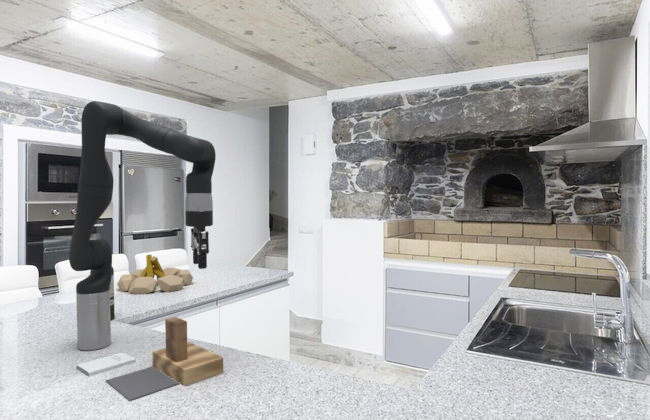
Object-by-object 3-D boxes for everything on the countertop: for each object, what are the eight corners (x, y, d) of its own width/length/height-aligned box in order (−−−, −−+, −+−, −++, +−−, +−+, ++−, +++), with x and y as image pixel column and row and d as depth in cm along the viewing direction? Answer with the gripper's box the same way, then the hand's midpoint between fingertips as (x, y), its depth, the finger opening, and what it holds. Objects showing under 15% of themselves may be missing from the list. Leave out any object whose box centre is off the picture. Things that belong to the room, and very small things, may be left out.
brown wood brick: (165, 356, 114) (165, 319, 114) (176, 353, 116) (175, 316, 116) (176, 362, 110) (176, 323, 110) (187, 359, 112) (186, 321, 112)
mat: (105, 381, 108) (105, 380, 108) (152, 367, 117) (152, 366, 117) (129, 401, 98) (129, 399, 97) (178, 384, 106) (178, 383, 106)
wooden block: (152, 366, 118) (152, 351, 117) (189, 355, 126) (189, 341, 125) (184, 386, 105) (184, 370, 105) (223, 372, 113) (223, 357, 113)
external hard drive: (76, 370, 116) (122, 356, 126) (88, 378, 111) (135, 363, 121) (76, 364, 116) (121, 351, 126) (88, 372, 111) (135, 358, 120)
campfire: (140, 280, 238) (139, 250, 237) (200, 280, 236) (199, 250, 236) (105, 295, 203) (104, 259, 202) (175, 295, 202) (175, 259, 201)
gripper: (181, 208, 126) (182, 263, 126) (189, 210, 113) (190, 271, 114) (207, 208, 129) (208, 261, 130) (217, 209, 116) (218, 269, 117)
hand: (199, 266), depth 122 cm, fingers open, 8 cm apart
